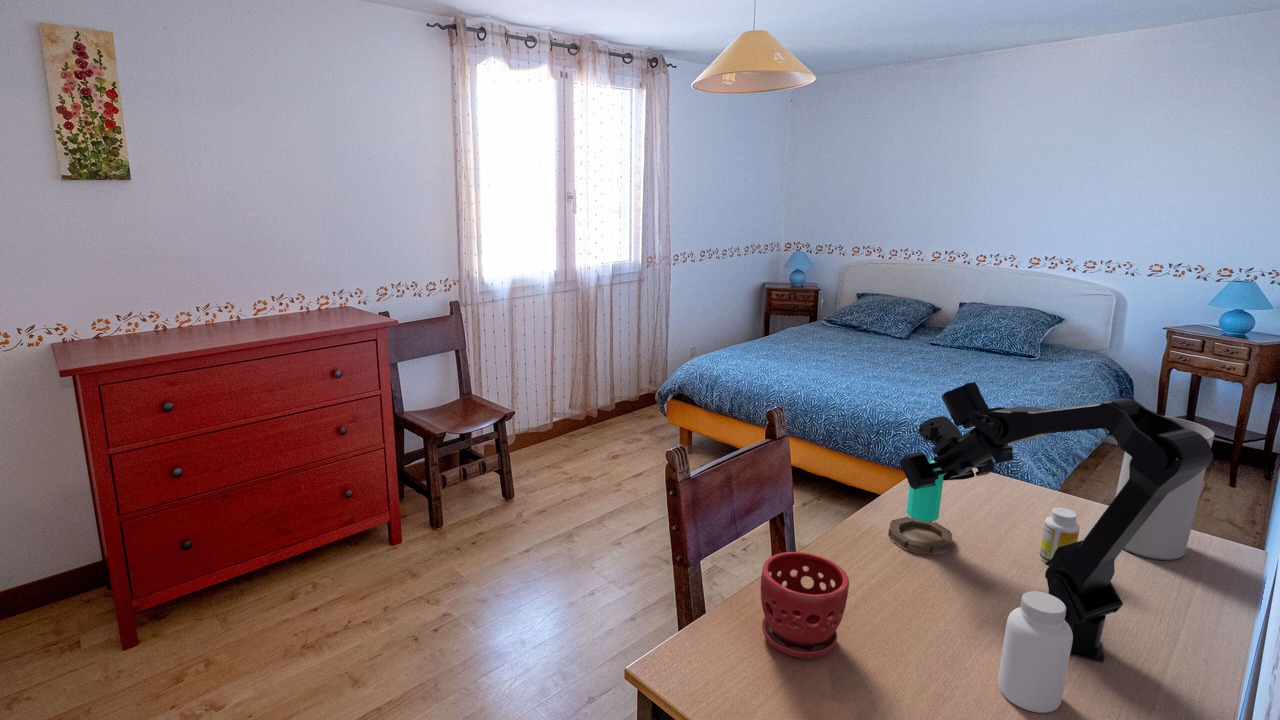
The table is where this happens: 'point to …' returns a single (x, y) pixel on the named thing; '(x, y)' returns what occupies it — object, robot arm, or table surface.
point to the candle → (925, 501)
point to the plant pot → (802, 604)
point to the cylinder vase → (1168, 511)
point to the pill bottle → (1036, 653)
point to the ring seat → (920, 536)
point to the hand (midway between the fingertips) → (921, 480)
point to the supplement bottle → (1058, 532)
